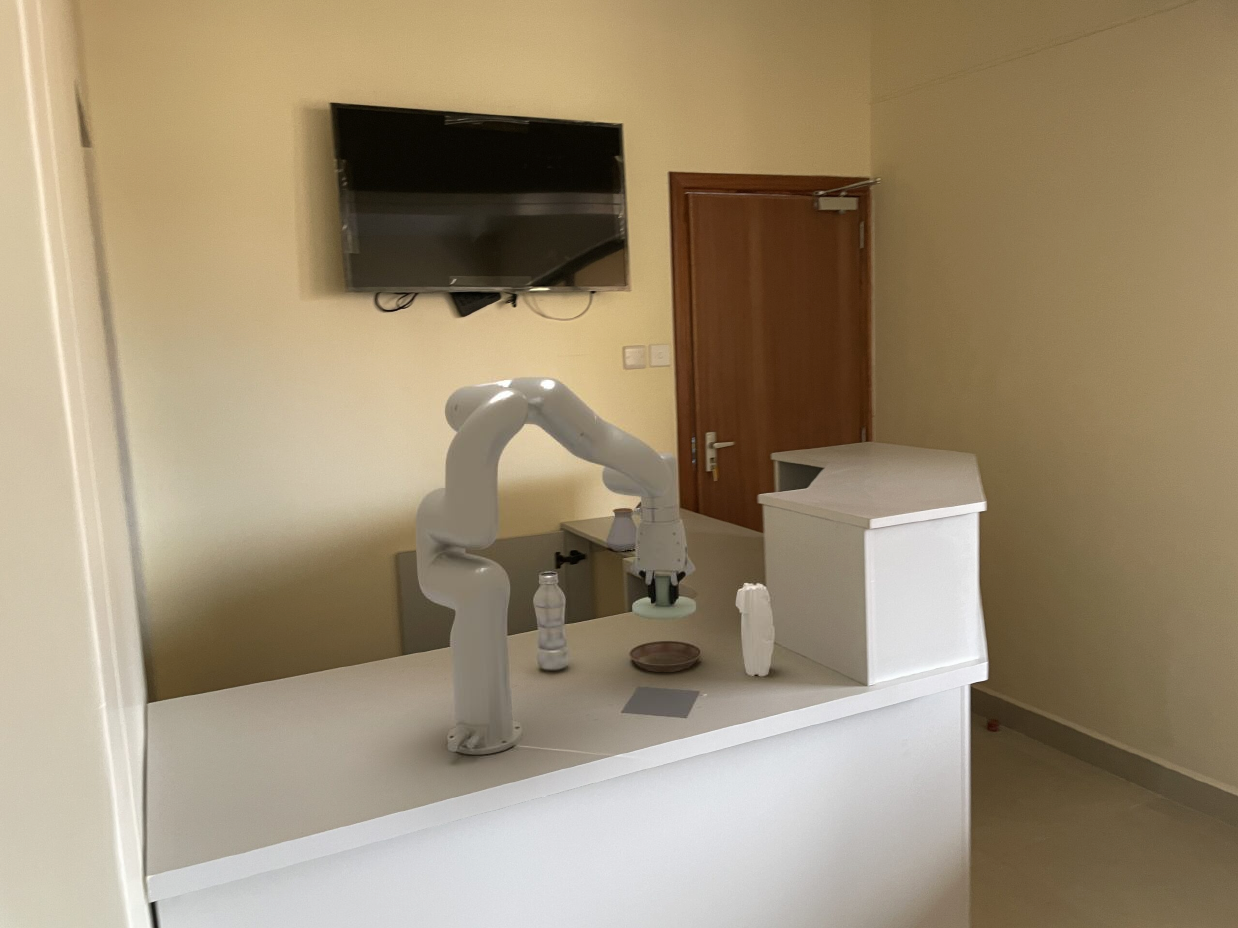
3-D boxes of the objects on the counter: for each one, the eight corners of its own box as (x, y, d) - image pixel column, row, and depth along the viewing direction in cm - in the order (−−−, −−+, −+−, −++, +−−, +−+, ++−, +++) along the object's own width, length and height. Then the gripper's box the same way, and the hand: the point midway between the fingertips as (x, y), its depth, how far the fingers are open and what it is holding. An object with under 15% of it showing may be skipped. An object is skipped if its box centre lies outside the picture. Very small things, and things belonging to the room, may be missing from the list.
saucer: (647, 648, 191) (646, 636, 191) (711, 656, 184) (711, 644, 184) (617, 672, 178) (616, 659, 178) (685, 681, 171) (685, 668, 171)
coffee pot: (628, 554, 275) (627, 507, 273) (599, 550, 282) (597, 505, 280) (665, 540, 292) (663, 496, 290) (636, 537, 299) (634, 494, 297)
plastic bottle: (565, 674, 177) (560, 578, 174) (533, 673, 178) (527, 577, 176) (573, 663, 183) (568, 570, 180) (542, 662, 185) (537, 569, 182)
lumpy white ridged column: (736, 679, 171) (775, 680, 169) (733, 589, 168) (772, 590, 167) (739, 667, 177) (776, 668, 176) (736, 580, 175) (773, 580, 173)
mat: (686, 719, 154) (686, 717, 154) (620, 714, 157) (620, 712, 157) (700, 692, 165) (699, 690, 165) (638, 688, 168) (638, 686, 168)
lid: (688, 620, 172) (687, 586, 171) (625, 617, 175) (623, 583, 174) (701, 600, 184) (700, 568, 183) (641, 598, 188) (640, 566, 187)
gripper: (615, 517, 176) (620, 605, 178) (696, 518, 171) (700, 609, 174) (625, 509, 183) (629, 595, 185) (704, 510, 178) (707, 598, 181)
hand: (663, 601), depth 179 cm, fingers closed on lid, 3 cm apart
